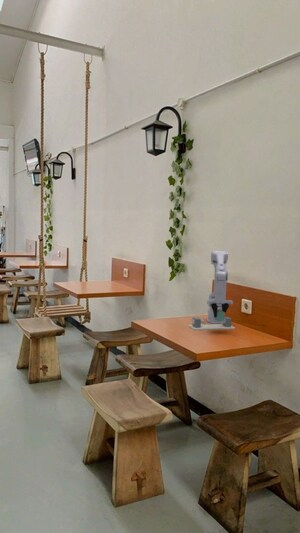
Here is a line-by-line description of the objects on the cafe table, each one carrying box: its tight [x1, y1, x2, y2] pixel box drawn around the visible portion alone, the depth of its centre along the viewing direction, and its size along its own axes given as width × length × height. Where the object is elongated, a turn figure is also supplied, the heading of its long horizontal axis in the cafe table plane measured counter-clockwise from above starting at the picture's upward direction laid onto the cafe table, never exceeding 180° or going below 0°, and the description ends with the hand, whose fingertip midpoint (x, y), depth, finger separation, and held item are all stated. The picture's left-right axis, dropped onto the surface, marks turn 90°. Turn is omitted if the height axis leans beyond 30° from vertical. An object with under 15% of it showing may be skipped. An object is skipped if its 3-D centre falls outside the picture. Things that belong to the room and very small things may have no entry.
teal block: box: [214, 309, 226, 321], centre depth 230 cm, size 6×4×5 cm, turn 13°
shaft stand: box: [188, 316, 236, 331], centre depth 240 cm, size 9×25×6 cm, turn 104°
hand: (219, 317), depth 230 cm, fingers closed on teal block, 4 cm apart
